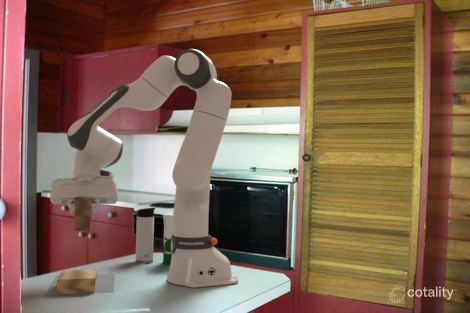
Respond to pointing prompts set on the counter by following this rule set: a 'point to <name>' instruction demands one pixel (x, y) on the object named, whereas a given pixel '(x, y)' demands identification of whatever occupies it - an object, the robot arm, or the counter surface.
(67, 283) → the oak base block
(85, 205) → the walnut column
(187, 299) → the counter surface
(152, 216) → the travel mug
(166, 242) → the milk carton
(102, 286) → the grey mat
